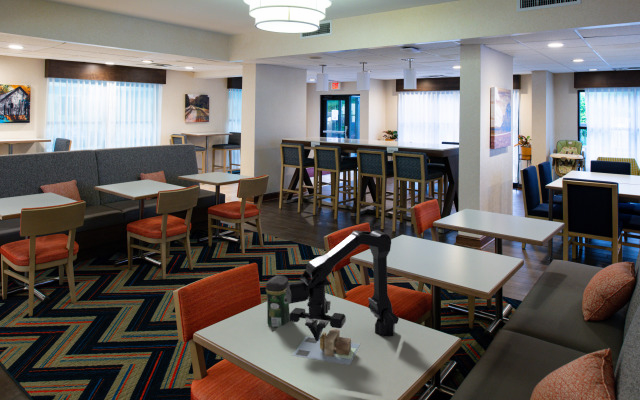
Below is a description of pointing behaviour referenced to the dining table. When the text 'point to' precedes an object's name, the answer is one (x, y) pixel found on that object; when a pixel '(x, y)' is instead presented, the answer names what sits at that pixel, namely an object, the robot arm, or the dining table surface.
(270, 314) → the coffee jar
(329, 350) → the tunnel
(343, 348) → the tan u-shaped piece
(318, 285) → the robot arm
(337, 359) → the pale blue flat board
